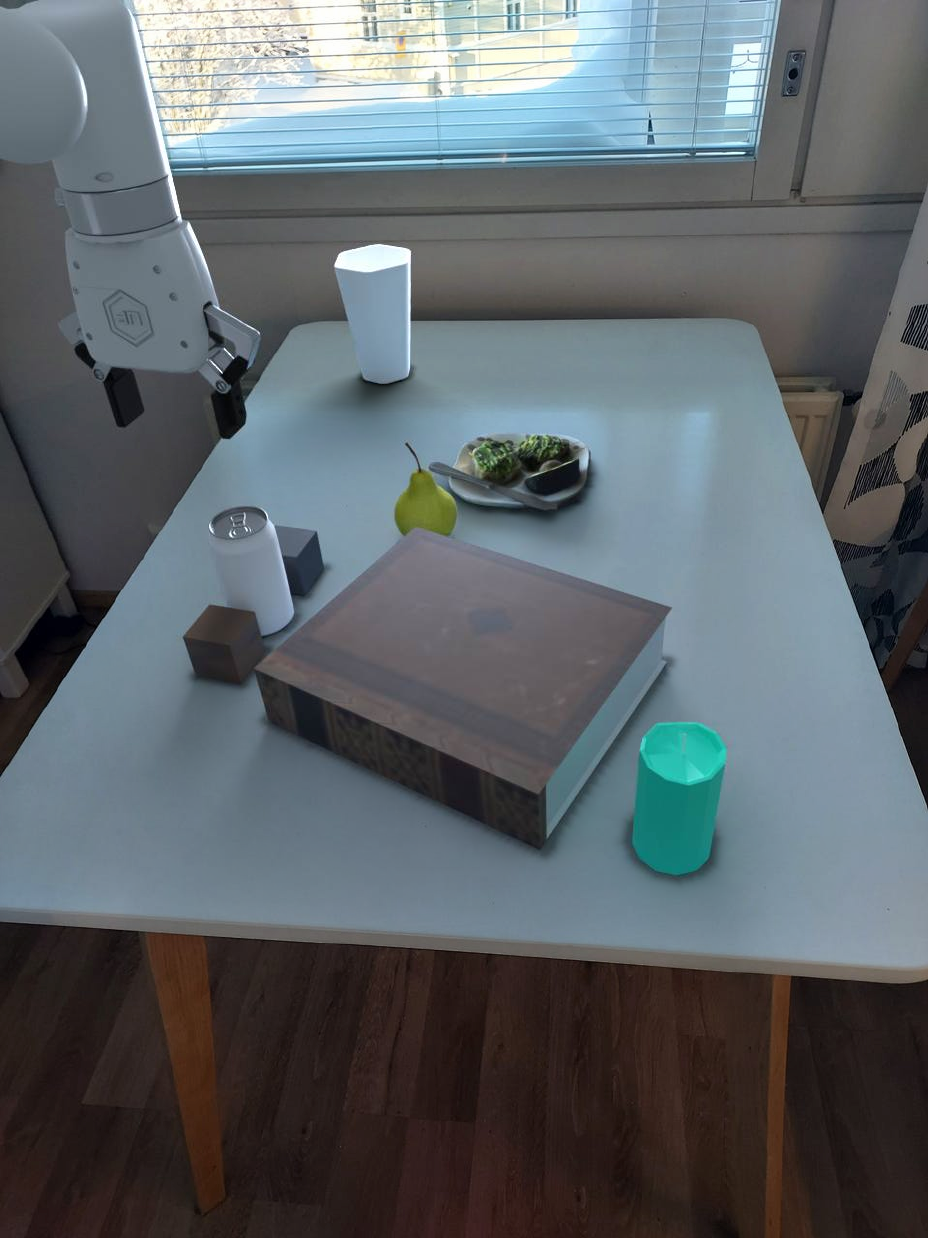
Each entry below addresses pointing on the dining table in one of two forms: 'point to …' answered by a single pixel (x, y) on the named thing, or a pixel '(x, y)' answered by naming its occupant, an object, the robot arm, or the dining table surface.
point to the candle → (677, 796)
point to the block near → (224, 643)
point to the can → (251, 566)
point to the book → (469, 678)
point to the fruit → (425, 505)
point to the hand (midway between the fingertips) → (182, 425)
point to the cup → (378, 308)
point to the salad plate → (519, 470)
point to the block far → (300, 557)
